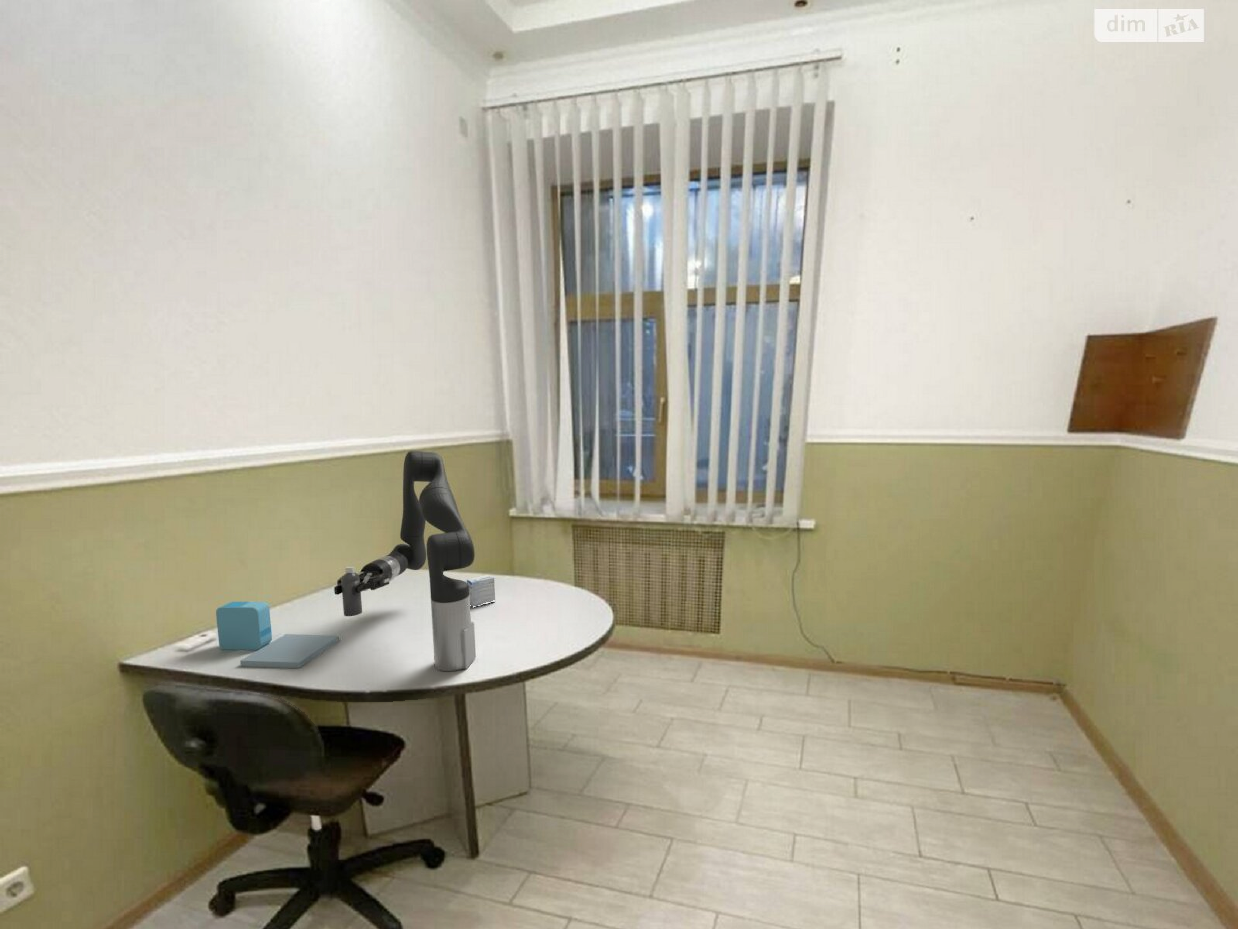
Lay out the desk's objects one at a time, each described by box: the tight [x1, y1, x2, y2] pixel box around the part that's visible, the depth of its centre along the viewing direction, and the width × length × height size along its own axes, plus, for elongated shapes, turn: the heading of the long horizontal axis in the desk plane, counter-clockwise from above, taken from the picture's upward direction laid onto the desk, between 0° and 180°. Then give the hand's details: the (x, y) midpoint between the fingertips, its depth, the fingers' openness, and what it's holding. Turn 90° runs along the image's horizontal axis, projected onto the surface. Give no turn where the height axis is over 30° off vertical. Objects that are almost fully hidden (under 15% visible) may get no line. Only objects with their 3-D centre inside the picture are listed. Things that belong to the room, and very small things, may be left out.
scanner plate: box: [239, 633, 340, 669], centre depth 141 cm, size 16×16×2 cm
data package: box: [215, 601, 273, 651], centre depth 145 cm, size 12×4×12 cm, turn 86°
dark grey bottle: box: [341, 566, 363, 617], centre depth 140 cm, size 4×4×12 cm
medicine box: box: [466, 574, 496, 607], centre depth 174 cm, size 8×4×9 cm, turn 130°
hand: (345, 591), depth 138 cm, fingers closed on dark grey bottle, 4 cm apart
